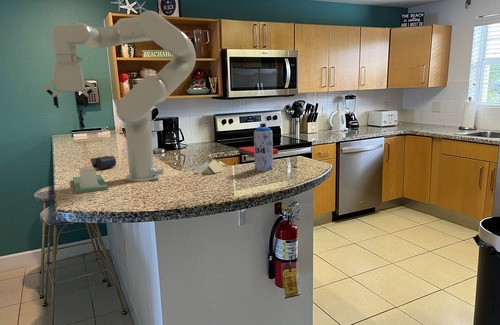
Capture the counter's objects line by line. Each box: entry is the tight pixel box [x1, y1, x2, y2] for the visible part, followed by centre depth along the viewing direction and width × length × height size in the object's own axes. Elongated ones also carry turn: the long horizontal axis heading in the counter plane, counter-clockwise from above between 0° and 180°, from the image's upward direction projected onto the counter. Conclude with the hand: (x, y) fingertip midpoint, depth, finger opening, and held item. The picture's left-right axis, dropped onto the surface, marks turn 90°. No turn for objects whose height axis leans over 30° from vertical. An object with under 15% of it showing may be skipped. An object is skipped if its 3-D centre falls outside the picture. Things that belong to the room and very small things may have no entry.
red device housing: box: [237, 146, 279, 158], centre depth 183 cm, size 18×14×5 cm
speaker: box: [90, 155, 117, 170], centre depth 164 cm, size 7×5×9 cm
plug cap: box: [78, 166, 98, 188], centre depth 127 cm, size 8×5×6 cm, turn 28°
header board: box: [72, 174, 109, 195], centre depth 132 cm, size 24×10×1 cm, turn 28°
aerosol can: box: [253, 123, 274, 172], centre depth 145 cm, size 8×8×20 cm
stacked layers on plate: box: [194, 159, 224, 175], centre depth 147 cm, size 10×9×6 cm
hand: (71, 107), depth 136 cm, fingers open, 9 cm apart
